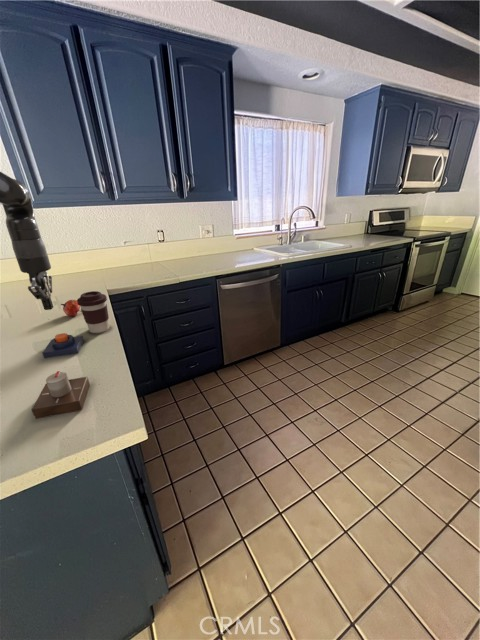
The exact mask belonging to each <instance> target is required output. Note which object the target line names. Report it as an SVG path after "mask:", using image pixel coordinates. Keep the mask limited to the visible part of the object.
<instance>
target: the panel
mask: <svg viewBox="0 0 480 640" xmlns="http://www.w3.org/2000/svg"><path fill="white" fill-rule="evenodd" d="M69 382H70V385H71V391H70V392H69V393H68V394H66V395H64V396H61V397H53V396H52V395H51V393H50V390H49V388H48V385H47V383H45V384H44V386H43V388H42V390H41V392H40V393H39V395H38V397H37V399H36V401H35V403H34V404H33V406H32V408H31V411H32V414H33V416H34V419H35V420H37V419H42V418H47V417H53V416H58V415H64V414H68V413H73V412H79V411H82V410H83V409H84V406H85V401H86V398H87V396H88V392H89V389H90V386H91V384H90V381H89V378H88V376H83V377H75V378H72V379H70V378H69Z"/></svg>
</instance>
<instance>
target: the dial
mask: <svg viewBox="0 0 480 640" xmlns="http://www.w3.org/2000/svg"><path fill="white" fill-rule="evenodd" d="M69 380H70V378H69V376H68V374H67V372H64V371H59V370H58V371H56V372H54V373H52V374H50V375H48V376H47V377H46V379H45V382H46V383H47V385H48V388H49V390H50V393H51V395H52V396H53V397H61V396H64V395H66V394H68V393H69V392H70V391H71V385H70V382H69ZM46 383H45V384H46Z"/></svg>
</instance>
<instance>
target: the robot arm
mask: <svg viewBox="0 0 480 640" xmlns="http://www.w3.org/2000/svg"><path fill="white" fill-rule="evenodd" d="M0 204H1V205H2V207H3V210H4V214H5V215H6V216H5V227H6V229H7V232H8V235H9V238H10V241H11V247H12V251H13V253H14V256H15V259H16V262H17V264H18V268H19V270H20V272H21V273H23V274H28V280H29V283H30V285H29V286H27V289H28V291H29V292H30V293H31V294H32V296H33V297H34V298H35V299H36V300H40V301H41V304H42V307H43V310H45V311H51V310H52V309H53V308H54V304H53V301H52V299H51V297H52V294H53V277H52V275H48V272H47V271H50V270H51V269H52V265H51V262H50V258H49V256H48V252H47V248H46V245H45V243H44V241H43V238H42V236H41V232H40V229H39V225H38V223H37V220H36V216H35V210H34V206H33V201H32V197H31V194H30V191H29V189H28V188H27V186H26V185H25V184H24V183H23V182H21V181H20V180H18V179H15V178H12V177H11V176H9V175H7V174H5V173H4V172H2V171H0Z"/></svg>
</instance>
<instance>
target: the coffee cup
mask: <svg viewBox="0 0 480 640" xmlns="http://www.w3.org/2000/svg"><path fill="white" fill-rule="evenodd" d="M76 300H77V303H78V305H80V312H81V311H82V312H81V313H82V316H83V319H84V322H85V324H86V326H87V328H88V331H89V332H90V333H92V334H100V333H101V334H102V333H104V332H106V331H108V330H110V321H109V318H110V316H109V311H108V305H107V300H108V297H107V295H106V294H104V293H102V292H101V291H98V290H97V291H96V290H92V291H87V292H83V293H82V294H80V297H78V298H77V299H76Z"/></svg>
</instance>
